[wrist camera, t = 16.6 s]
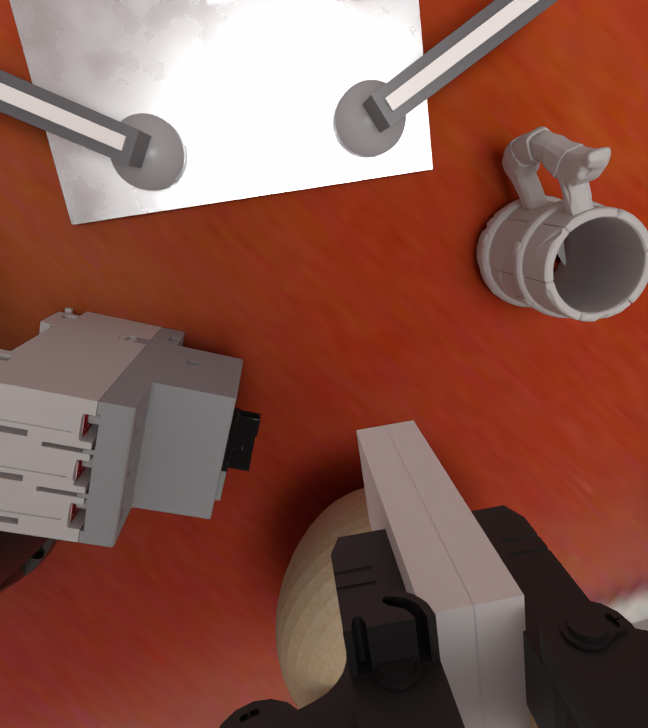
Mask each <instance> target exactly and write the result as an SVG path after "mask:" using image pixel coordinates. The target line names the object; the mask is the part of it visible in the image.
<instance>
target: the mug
mask: <svg viewBox="0 0 648 728" xmlns="http://www.w3.org/2000/svg"><path fill="white" fill-rule="evenodd" d="M503 156H504V157H503V158H502V166H503V168H504V171H505V173H506V174H507V175H508V177H509V178H510V180H511V182H512V183H513V185H514V187H515V189H516V191H517V193H518V195H519V198H520V199H517V200H515V201H513V202H511V203H509V204H508V205H506V206H505V207H503V208H502V209H500V210H499V211H498V212H496V213H495V214H494V215H493V216H494V217H493V218H491V219H490V220H489V221H488V222H487V223H486V225H487V227H486V229H485V230H483V231H482V232H481V234H480V237H479V240H478V244H477V263H478V265H479V267H480V271H481V276H482V278H483V280H484V282H485V283H486V285H487V286H488V288H489V289H490V290H491V292H492V293H493V294H494V295H496V296H497V297H499V298H500V299H502V300H503V301H505V302H507V303H510V304H513V305H516V306H521V307H531V308H534V309H535V310H537V311H539V312H542V313H544V314H546V315H549V316H553V317H559V318H572V319H576V320H580V321H596V320H597V319H600V318H608V317H611V316H613V315H615V314H617V313H620V312H621V311H623V310H624V309H625V308H626V307H628V306H629V305H630V304H631V303H633V302H634V301H635V300H636V299H637V298H638V297H639V296H640V294H641V293H642V291H643V290H644V288H645V286H646V284H647V282H648V251H647V250H648V231H647V229H646V228H645V227H644V225H643V224H642V223H641V222H640V221H639V220H638V219H637V218H636V217H635V216H634V215H632V214H630V213H629V212H627V211H625V210H622V209H617V208H613V207H605V206H603V205H601V204H599V203H596V202H593V201H592V195H591V190H590V186H589V181H591V180H594V179H596V178H597V177H599V176H600V174H601V173H602V171H603V170H604V169H605V167H606V166H607V164H608V162H609V159H610V156H611V150H610V148H609V147H602V148H597V149H594V148H590V147H584V146H583V144H580V143H576V142H572V141H570V140H568V139H567V138H566V137H564V136H562V135H556V134H554V133H552V132H551V131H550V130H549V129H547V128H546V127H538V128H536V129H534V130H532V131H531V132H529V133H526V134H524V135H521V136H519V137H517V138H515V139H514V140H512V141H511V142H510V143H509V144H508V145H507V147H506V148H505V150H504V154H503ZM540 162H541V163H543V166H544V167H545V168H546V169H547V170H548V171H549V172H550V173H551V175H552V176H553V177H555V178H557V179H558V181H559V184H560V187H561V191H562V195H563V200H561V199H559V198H556V197H552V196H546V195H545V194H544V191H543V188H542V185H541V183H540V181H539V178H538V176H537V173H536V172H537V170H538V169H539V165H540ZM557 254H558V256H559V258H560V259H561V260H560V262H559V265H558V267H557V269H556V270H555V272H554V273H553V267H554V261H555V258H556V255H557ZM630 302H631V303H630Z"/></svg>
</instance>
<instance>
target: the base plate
mask: <svg viewBox="0 0 648 728" xmlns="http://www.w3.org/2000/svg"><path fill="white" fill-rule="evenodd" d="M10 4H11V7H12V11H13V15H14V18H15V22H16V25H17V29H18V33H19V36H20V40H21V43H22V47H23V51H24V54H25V58H26V62H27V65H28V69H29V72H30V76H31V80H32V83H33V84H34V85H36V86H39V87H41V88H43V89H46V90H48V91H50V92H53V93H55V94H57V95H60V96H62V97H64V98H66V99H69V100H71V101H73V102H76V103H78V104H80V105H83V106H85V107H87V108H90V109H92V110H94V111H97V112H99V113H101V114H103V115H106V116H108V117H110V118H113V119H115V120H117V121H122V120H123V119H124V118H126V117H128V116H130V115H133V114H138V113H147V114H152V115H155V116H158V117H160V118H162V119H163V120H165V121H166V122H167V123H169V124H170V125H171V126H172V127H174V129H175V130H176V131H177V132H178V134H179V135H180V137H181V139H182V141H183V144H184V147H185V153H186V160H185V166H184V169H183V172H182V174H181V175H180V177H179V178H178V179H177V180H176V181H175V182H174V183H173V184H172V185H170V186H169V187H167V188H164V189H160V190H143V189H139V188H136V187H134V186H132V185H130V184H129V183H127V182H126V181H125V180H123V179H122V178H121V177H120V176H119V174H118V173H117V172H116V170H115V168H114V167H113V164H112V162H111V158H109V157H107V156H105V155H102V154H100V153H97V152H95V151H93V150H90V149H88V148H86V147H83V146H81V145H78V144H76V143H74V142H71V141H69V140H66V139H64V138H62V137H59V136H57V135H54V134H52V133H50V132H47V131H46V134H47V137H48V141H49V144H50V148H51V152H52V155H53V159H54V162H55V166H56V170H57V173H58V177H59V180H60V184H61V188H62V191H63V195H64V198H65V202H66V206H67V209H68V213H69V216H70V220H71V224H72V225H75V224H81V223H88V222H94V221H101V220H107V219H114V218H120V217H127V216H133V215H140V214H146V213H152V212H159V211H165V210H172V209H178V208H185V207H191V206H198V205H204V204H211V203H217V202H224V201H230V200H237V199H243V198H249V197H256V196H262V195H269V194H275V193H282V192H288V191H295V190H301V189H308V188H314V187H321V186H327V185H333V184H340V183H346V182H353V181H359V180H366V179H372V178H379V177H385V176H392V175H398V174H405V173H411V172H418V171H424V170H430V169H433V167H432V155H431V143H430V131H429V119H428V107H427V99H426V100H425V101H424V102H422V103H421V104H420V105H418V106H417V107H416V108H414V109H413V110H412V111H410V112H409V113H408V114H406V123H405V128H404V131H403V134H402V136H401V138H400V140H399V141H398V143H397V144H396V145H395V146H394V147H393V148H392V149H391V150H389V151H387V152H386V153H384V154H381V155H379V156H376V157H367V158H366V157H360V156H357V155H354V154H352V153H351V152H349V151H348V150H347V149H346V148H345V147H344V146H343V145H342V144H341V142H340V141H339V139H338V137H337V134H336V131H335V126H334V115H335V110H336V107H337V105H338V103H339V101H340V99H341V98H342V96H343V95H344V93H345V92H346V91H347V90H348V89H349V88H350V87H351V86H353V85H354V84H356V83H358V82H360V81H364V80H379V81H383V82H385V83H387V82H389V81H390V80H391V79H393V78H394V77H395V76H396V75H398V74H399V73H400V72H402V71H403V70H404V69H406V68H407V67H408V66H410V65H411V64H412V63H413V62H415V61H416V60H417V59H419V58H420V57H421V56H423V47H422V35H421V23H420V11H419V0H10Z"/></svg>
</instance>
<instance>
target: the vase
mask: <svg viewBox="0 0 648 728" xmlns="http://www.w3.org/2000/svg"><path fill="white" fill-rule="evenodd" d="M370 531H372V529H371V526H370V522H369V516H368V509H367V502H366V495H365V488H362V489H359V490H356V491H353V492H351V493H349V494H346V495H344V496H343V497H341V498H339V499H338V500H336V501H335V502H333V503H332V504H331V505H330V506H328V507H327V508H326V509H325V510H324V511H323V512H322V513H321V514H320V515H319V516H318V517H317V519H316V520H315V521H314V522H313V523H312V525H311V526H310V527H309V528H308V530H307V531H306V533H305V534H304V536H303V537H302V539H301V541H300V542H299V544H298V546H297V547H296V549H295V551H294V553H293V556H292V558H291V560H290V563H289V565H288V568H287V570H286V573H285V575H284V578H283V582H282V586H281V590H280V595H279V599H278V604H277V612H276V646H277V653H278V658H279V663H280V667H281V671H282V675H283V678H284V680H285V683H286V686H287V688H288V691H289V693H290V695H291V696H292V698H293V700H294V701H295V703H296V705H297V706H298V708H299V709H300V708H302V707H304V706H306V705H308V704H310V703H312V702H314V701H316V700H317V699H319V698H320V697H321V696H323V695H324V694H326V693H327V692H328V691H329V690H330V689H331V688H332V687H333V686H334V685H335V684H336V683H337V681H338V680H339V678H340V676H341V675H342V673H343V671H344V667H345V664H346V649H345V643H344V637H343V627H342V621H341V615H340V609H339V603H338V597H337V591H336V585H335V578H334V572H333V566H332V560H331V553H332V550H333V548H334V546H335V543H336V541H337V539H338V537H343V536H348V535H354V534H359V533H365V532H370ZM529 711H530V710H529ZM530 728H538V726H537V724H536V722H535V720H534V718H533V716H532V714H531V712H530Z"/></svg>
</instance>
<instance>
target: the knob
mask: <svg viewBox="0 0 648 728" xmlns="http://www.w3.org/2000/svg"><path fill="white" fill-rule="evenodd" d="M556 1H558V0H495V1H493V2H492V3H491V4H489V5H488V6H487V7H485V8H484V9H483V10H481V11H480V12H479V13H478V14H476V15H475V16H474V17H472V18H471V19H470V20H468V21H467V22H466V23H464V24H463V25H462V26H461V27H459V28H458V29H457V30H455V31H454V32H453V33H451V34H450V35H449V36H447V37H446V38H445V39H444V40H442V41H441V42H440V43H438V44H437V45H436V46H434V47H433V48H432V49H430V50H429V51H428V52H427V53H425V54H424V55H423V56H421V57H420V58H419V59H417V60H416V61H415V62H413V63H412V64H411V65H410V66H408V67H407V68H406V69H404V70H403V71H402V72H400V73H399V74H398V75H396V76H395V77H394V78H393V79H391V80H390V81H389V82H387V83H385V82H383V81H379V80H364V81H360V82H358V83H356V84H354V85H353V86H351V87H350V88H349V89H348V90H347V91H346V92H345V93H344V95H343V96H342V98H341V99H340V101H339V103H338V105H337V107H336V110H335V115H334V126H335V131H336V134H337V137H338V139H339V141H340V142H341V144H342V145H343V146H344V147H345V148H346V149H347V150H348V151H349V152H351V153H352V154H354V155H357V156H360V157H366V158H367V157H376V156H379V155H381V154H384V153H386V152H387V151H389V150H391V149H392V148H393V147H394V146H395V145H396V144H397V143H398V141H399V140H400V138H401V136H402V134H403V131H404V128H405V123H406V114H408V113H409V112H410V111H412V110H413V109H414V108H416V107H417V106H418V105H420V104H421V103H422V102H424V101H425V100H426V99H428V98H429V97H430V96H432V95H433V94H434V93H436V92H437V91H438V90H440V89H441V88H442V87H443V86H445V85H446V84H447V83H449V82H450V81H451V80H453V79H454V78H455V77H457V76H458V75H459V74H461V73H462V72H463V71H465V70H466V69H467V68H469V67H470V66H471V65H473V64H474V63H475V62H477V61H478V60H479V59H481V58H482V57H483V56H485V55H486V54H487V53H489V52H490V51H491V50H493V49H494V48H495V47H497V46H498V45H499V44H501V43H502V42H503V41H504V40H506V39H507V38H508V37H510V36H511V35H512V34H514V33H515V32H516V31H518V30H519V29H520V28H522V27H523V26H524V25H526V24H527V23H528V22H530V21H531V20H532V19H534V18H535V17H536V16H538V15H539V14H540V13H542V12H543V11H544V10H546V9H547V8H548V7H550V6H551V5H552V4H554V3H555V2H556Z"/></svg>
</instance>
